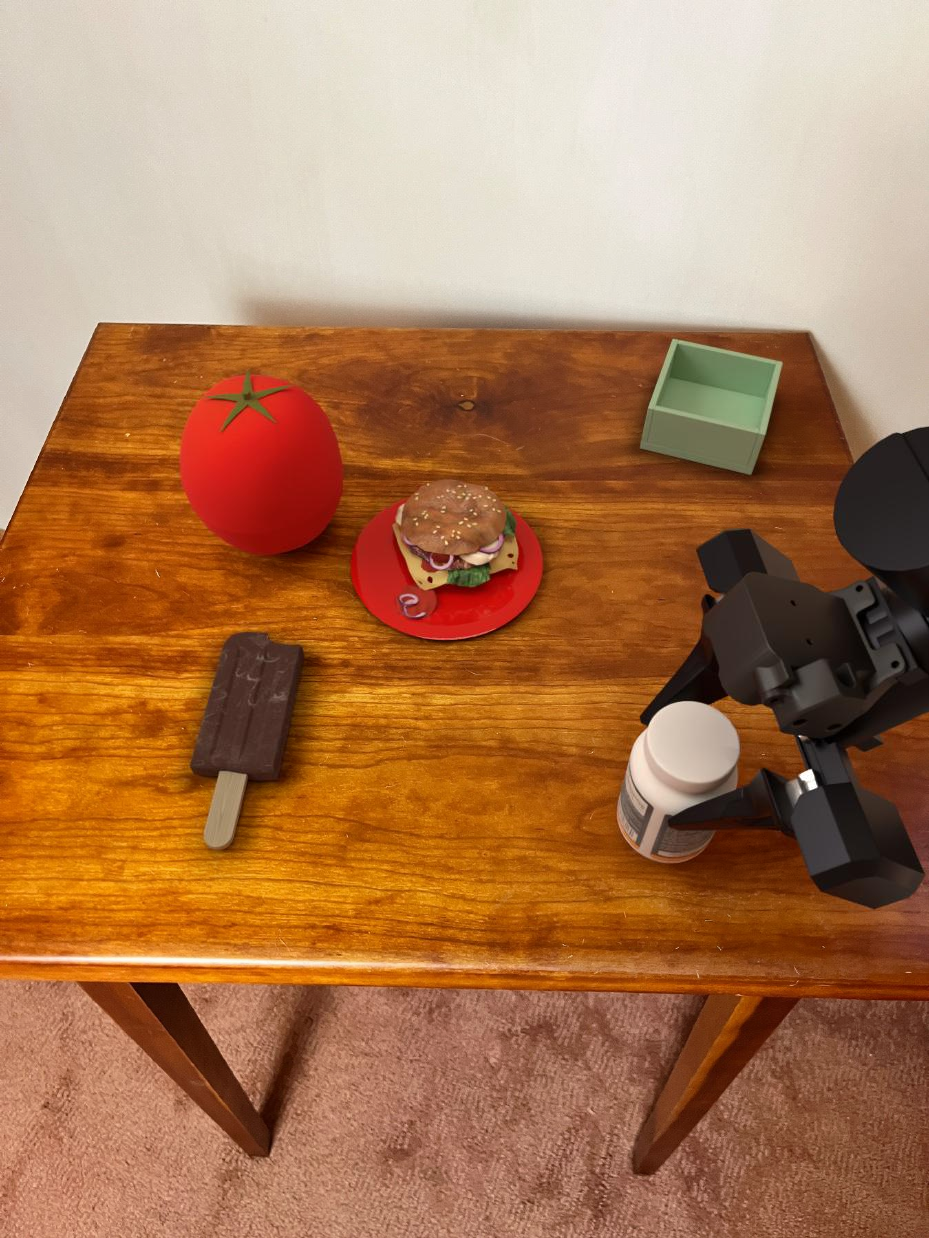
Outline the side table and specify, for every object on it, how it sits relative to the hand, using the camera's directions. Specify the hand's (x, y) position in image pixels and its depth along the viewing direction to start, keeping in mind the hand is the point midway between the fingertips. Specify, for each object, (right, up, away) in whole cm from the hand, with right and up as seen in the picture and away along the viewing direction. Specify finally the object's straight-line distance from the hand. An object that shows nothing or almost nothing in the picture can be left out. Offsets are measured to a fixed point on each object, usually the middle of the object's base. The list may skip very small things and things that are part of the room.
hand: (657, 771), depth 48 cm
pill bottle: (+1, -4, +6) cm, 7 cm away
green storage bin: (+10, +24, +27) cm, 37 cm away
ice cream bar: (-24, 0, +10) cm, 26 cm away
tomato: (-24, +15, +21) cm, 35 cm away
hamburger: (-12, +12, +19) cm, 25 cm away
